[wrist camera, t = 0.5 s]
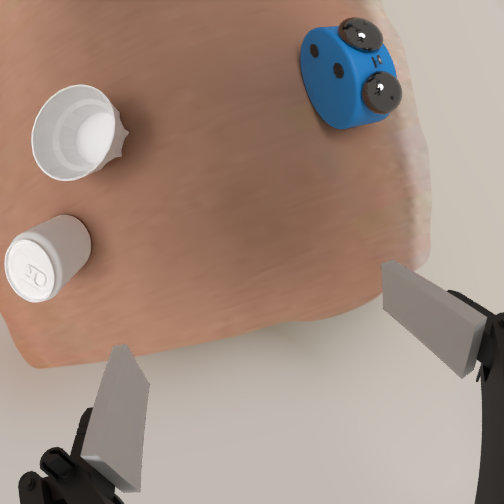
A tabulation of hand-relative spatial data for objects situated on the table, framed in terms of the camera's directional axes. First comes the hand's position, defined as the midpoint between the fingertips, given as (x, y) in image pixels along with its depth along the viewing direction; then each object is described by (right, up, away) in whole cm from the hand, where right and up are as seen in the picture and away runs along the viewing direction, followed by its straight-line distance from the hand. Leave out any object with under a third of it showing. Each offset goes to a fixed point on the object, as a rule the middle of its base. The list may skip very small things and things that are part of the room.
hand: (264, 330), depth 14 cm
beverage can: (-26, +5, +22) cm, 35 cm away
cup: (-20, +19, +19) cm, 34 cm away
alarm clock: (+9, +27, +22) cm, 36 cm away
